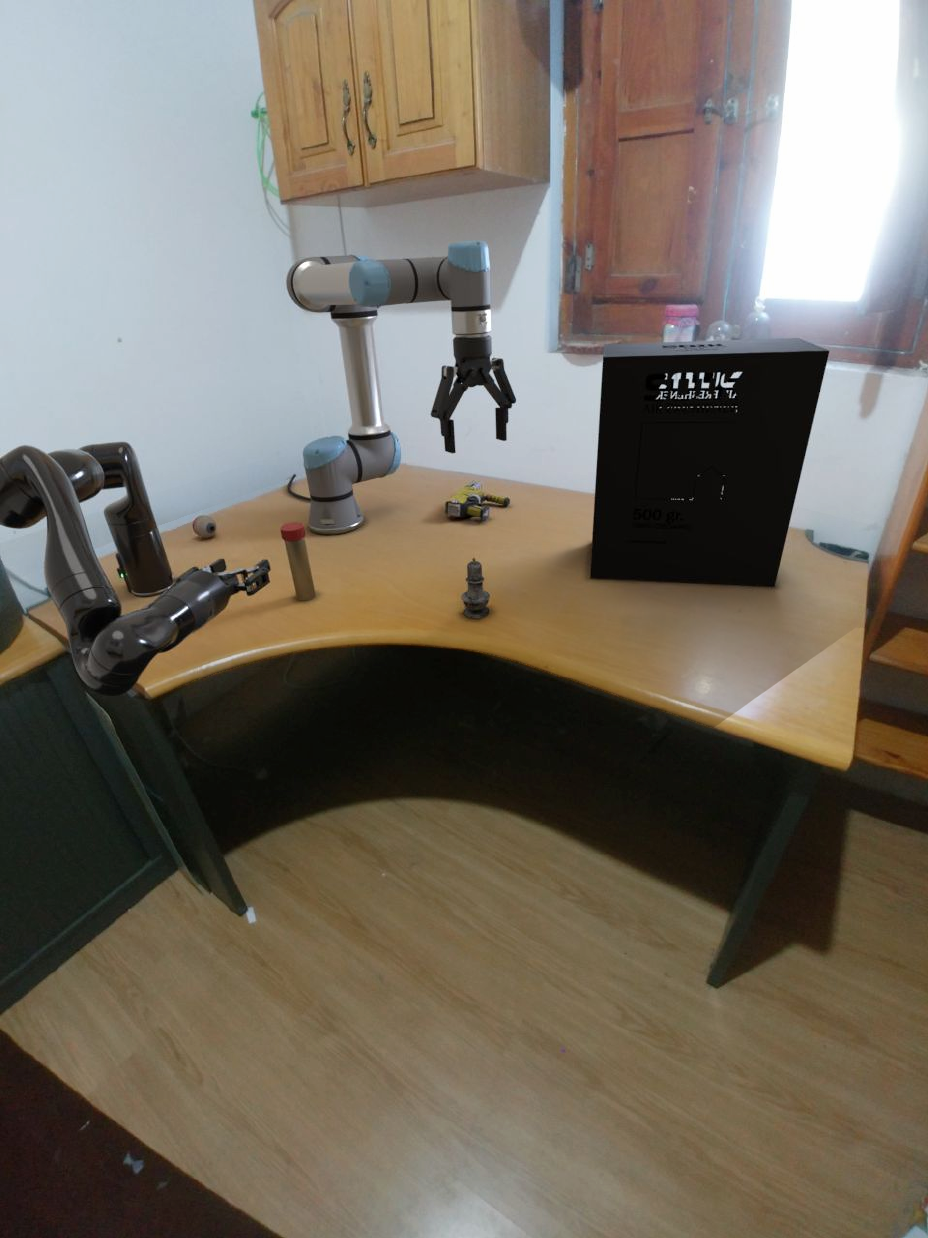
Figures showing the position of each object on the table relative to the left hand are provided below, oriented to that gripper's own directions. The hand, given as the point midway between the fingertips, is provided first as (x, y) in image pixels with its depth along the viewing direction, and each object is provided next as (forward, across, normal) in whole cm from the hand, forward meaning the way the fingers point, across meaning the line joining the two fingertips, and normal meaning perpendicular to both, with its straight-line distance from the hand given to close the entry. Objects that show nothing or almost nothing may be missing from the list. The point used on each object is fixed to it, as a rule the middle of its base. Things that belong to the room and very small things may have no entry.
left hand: (245, 563), depth 107 cm
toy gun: (+78, -29, +14) cm, 85 cm away
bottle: (+20, +1, +16) cm, 26 cm away
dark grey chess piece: (+17, -38, +17) cm, 45 cm away
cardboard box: (+45, -79, +16) cm, 92 cm away
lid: (+20, 0, 0) cm, 20 cm away
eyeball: (+51, +44, +14) cm, 69 cm away
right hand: (+38, -36, -12) cm, 53 cm away
